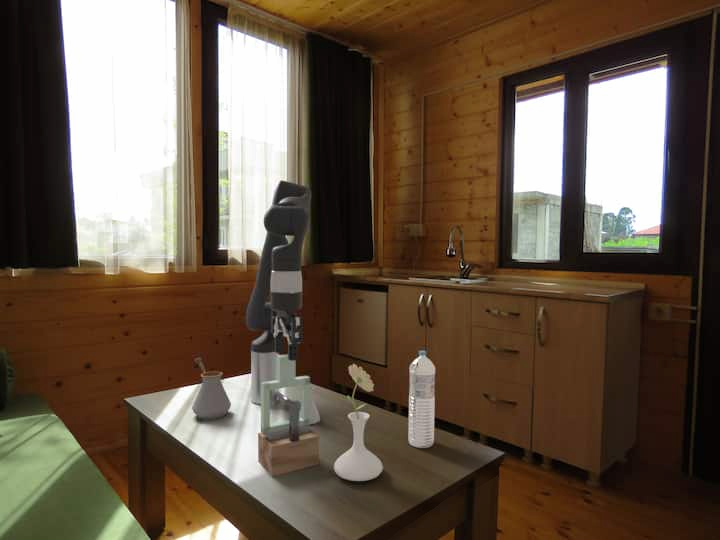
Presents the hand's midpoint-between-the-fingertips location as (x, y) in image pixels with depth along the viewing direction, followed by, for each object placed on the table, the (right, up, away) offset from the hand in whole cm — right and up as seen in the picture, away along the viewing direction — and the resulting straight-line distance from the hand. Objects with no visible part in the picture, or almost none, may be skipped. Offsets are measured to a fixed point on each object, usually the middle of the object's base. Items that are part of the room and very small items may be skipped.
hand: (286, 356), depth 113 cm
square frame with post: (0, -19, +1) cm, 19 cm away
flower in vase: (+17, -27, -4) cm, 32 cm away
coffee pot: (-31, -24, +35) cm, 53 cm away
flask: (+2, -25, +28) cm, 37 cm away
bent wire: (-2, -19, +5) cm, 19 cm away
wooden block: (+1, -26, 0) cm, 26 cm away
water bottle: (+34, -26, +12) cm, 45 cm away
